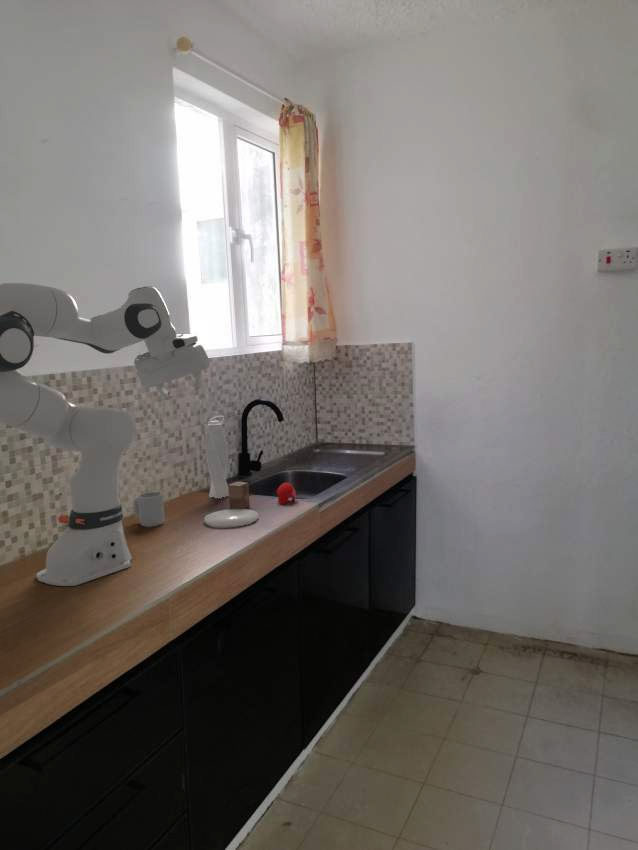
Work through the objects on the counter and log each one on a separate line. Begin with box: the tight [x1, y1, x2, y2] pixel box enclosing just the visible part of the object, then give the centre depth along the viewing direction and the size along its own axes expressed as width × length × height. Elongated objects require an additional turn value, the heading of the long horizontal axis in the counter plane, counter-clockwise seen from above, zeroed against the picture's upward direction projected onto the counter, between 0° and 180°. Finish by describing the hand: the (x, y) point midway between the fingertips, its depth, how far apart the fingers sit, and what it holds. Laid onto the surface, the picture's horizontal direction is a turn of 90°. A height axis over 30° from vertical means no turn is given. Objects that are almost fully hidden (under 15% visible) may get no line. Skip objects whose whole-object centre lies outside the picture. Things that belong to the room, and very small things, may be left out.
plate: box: [204, 508, 259, 529], centre depth 188 cm, size 16×16×1 cm
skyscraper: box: [204, 414, 229, 500], centre depth 216 cm, size 8×8×28 cm
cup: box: [133, 491, 166, 528], centre depth 188 cm, size 7×10×9 cm
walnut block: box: [227, 481, 251, 509], centre depth 201 cm, size 4×4×8 cm
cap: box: [276, 482, 297, 505], centre depth 206 cm, size 8×6×6 cm
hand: (183, 394), depth 172 cm, fingers open, 8 cm apart
